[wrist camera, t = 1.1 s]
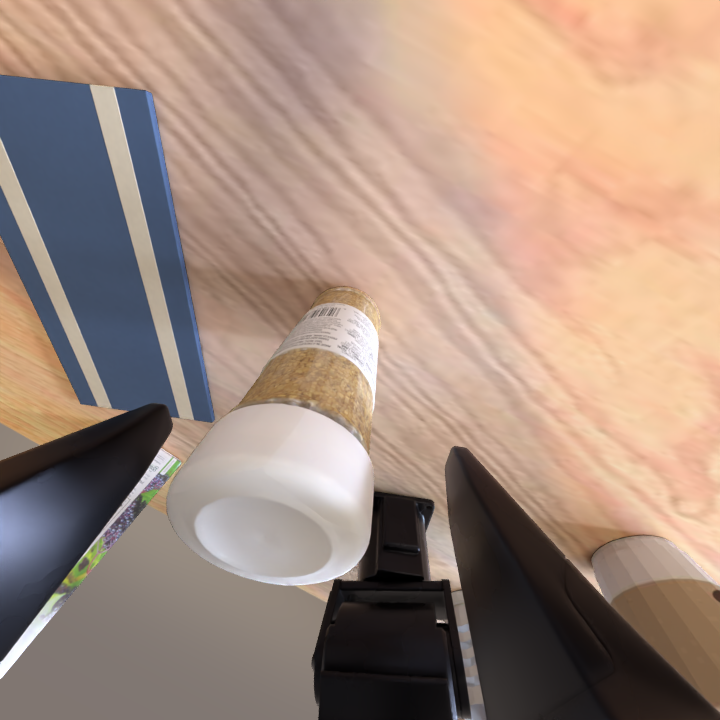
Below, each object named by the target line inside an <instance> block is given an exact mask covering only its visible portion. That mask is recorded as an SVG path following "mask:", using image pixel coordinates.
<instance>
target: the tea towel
mask: <svg viewBox="0 0 720 720" xmlns="http://www.w3.org/2000/svg"><path fill="white" fill-rule="evenodd" d="M0 236H1V238H2V240H3V242H4V245H5V247H6V249H7V251H8V253H9V255H10V257H11V259H12V261H13V263H14V265H15V268H16V270H17V272H18V274H19V276H20V278H21V280H22V282H23V284H24V286H25V288H26V291H27V293H28V295H29V297H30V299H31V301H32V303H33V305H34V307H35V309H36V311H37V314H38V316H39V318H40V320H41V322H42V324H43V326H44V328H45V330H46V332H47V334H48V337H49V339H50V341H51V343H52V345H53V347H54V349H55V351H56V353H57V355H58V358H59V360H60V362H61V364H62V366H63V368H64V370H65V372H66V374H67V376H68V378H69V381H70V383H71V385H72V387H73V389H74V391H75V393H76V395H77V397H78V399H79V401H80V404H84V405H91V406H98V407H104V408H111V409H119V410H126V411H131V410H134V409H137V408H139V407H142V406H145V405H147V404H150V403H159V404H165V405H166V406H167V407H168V409H169V412H170V416H171V417H176V418H182V419H189V420H197V421H204V422H213V421H214V420H215V418H214V413H213V407H212V402H211V397H210V392H209V387H208V382H207V376H206V371H205V366H204V361H203V356H202V351H201V345H200V340H199V335H198V330H197V325H196V320H195V314H194V309H193V304H192V299H191V294H190V289H189V283H188V278H187V273H186V268H185V263H184V258H183V252H182V247H181V242H180V237H179V232H178V227H177V222H176V216H175V211H174V206H173V201H172V196H171V191H170V185H169V180H168V175H167V170H166V165H165V160H164V154H163V149H162V144H161V139H160V134H159V129H158V123H157V118H156V113H155V108H154V103H153V98H152V94H151V93H150V92H148V91H146V90H138V89H129V88H119V87H111V86H101V85H92V84H82V83H72V82H63V81H54V80H44V79H35V78H26V77H16V76H7V75H0Z"/></svg>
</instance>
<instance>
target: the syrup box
mask: <svg viewBox="0 0 720 720" xmlns="http://www.w3.org/2000/svg"><path fill="white" fill-rule="evenodd" d="M180 465H181V461H180V460H179V459H178V458H176V457H175V456H173V455H172V454H170V453H168V452H167V451H165V450H164V449H162V448H161V449H160V450H159V452H158V454H157V455H156V457H155V458H154V460H153V462H152V463H151V465H150V466H149V468H148V470H147V471H146V473H145V474H144V476H143V477H142V478H141V480H140V481H139V482H138V484H137V485H136V486H135V488H134V489H133V490H132V492H131V493H130V494H129V496H128V497H127V498H126V500H125V501H124V502H123V503H122V505H121V506H120V507H119V509H118V510H117V511H116V513H115V514H114V515H113V517H112V518H111V519H110V521H109V522H108V523H107V524H106V526H105V527H104V528H103V530H102V531H101V532H100V534H99V535H98V536H97V538H96V539H95V540H94V542H93V543H92V544H91V545H90V547H89V548H88V549H87V551H86V552H85V553H84V555H83V556H82V557H81V559H80V560H79V561H78V563H77V564H76V565H75V566H74V568H73V569H72V570H71V572H70V573H69V574H68V576H67V577H66V578H65V580H64V581H63V582H62V583H61V585H60V586H59V587H58V589H57V590H56V591H55V593H54V594H53V595H52V597H51V598H50V599H49V601H48V602H47V603H46V604H45V606H44V607H43V608H42V610H41V611H40V612H39V614H38V615H37V616H36V618H35V619H34V620H33V622H32V623H31V624H30V625H29V627H28V628H27V629H26V631H25V632H24V633H23V635H22V636H21V637H20V639H19V640H18V641H17V643H16V644H15V645H14V646H13V648H12V649H11V650H10V652H9V653H8V654H7V656H6V657H5V658H4V660H3V661H1V662H0V679H1V678H2V677H3V675H4V674H5V673H6V672H7V671H8V669H9V668H10V667H11V666H12V665H13V663H14V662H15V661H16V660H17V659H18V657H19V656H20V655H21V654H22V653H23V651H24V650H25V649H26V648H27V647H28V645H29V644H30V643H31V642H32V641H33V639H34V638H35V637H36V636H37V635H38V633H39V632H40V631H41V630H42V629H43V628H44V626H45V625H46V624H47V622H49V620H50V619H51V618H52V617H53V616H54V614H55V613H56V612H57V611H58V610H59V609H60V607H61V606H62V605H63V604H64V602H66V600H67V599H68V598H69V597H70V596H71V594H72V593H73V592H74V591H75V590H76V589H77V587H78V586H79V585H80V584H81V583H82V581H83V580H84V579H85V578H86V577H87V575H88V574H89V573H90V572H91V571H92V569H93V568H94V567H95V566H96V565H97V564H98V562H99V561H100V560H101V558H102V557H103V556H104V555H105V554H106V553H107V551H108V550H109V549H110V548H111V547H112V545H113V544H114V543H115V542H116V541H117V540H118V539H119V537H120V536H121V535H122V534H123V533H124V531H125V530H126V529H127V528H128V527H129V525H130V524H131V523H132V522H133V520H134V519H135V518H136V517H137V516H138V515H139V513H140V512H141V511H142V510H143V509H144V508H145V506H146V505H147V504H148V503H149V501H150V500H151V499H152V498H153V497H154V495H155V494H156V493H157V492H158V491H159V490H160V488H161V487H162V486H163V485H164V484H165V482H166V481H167V480H168V479H169V478H170V476H171V475H172V474H173V473H174V472H175V470H176V469H177V468H178V467H179V466H180Z"/></svg>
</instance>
